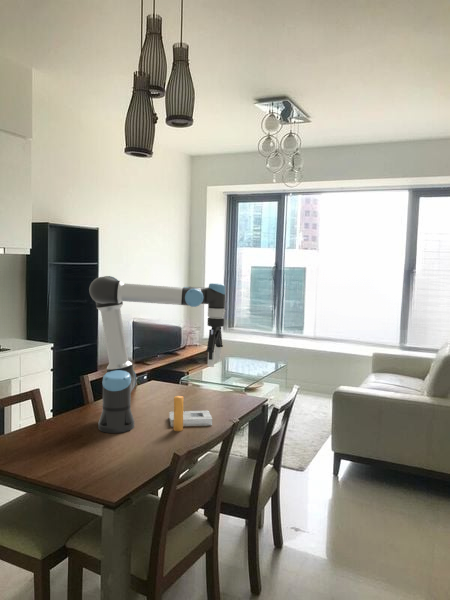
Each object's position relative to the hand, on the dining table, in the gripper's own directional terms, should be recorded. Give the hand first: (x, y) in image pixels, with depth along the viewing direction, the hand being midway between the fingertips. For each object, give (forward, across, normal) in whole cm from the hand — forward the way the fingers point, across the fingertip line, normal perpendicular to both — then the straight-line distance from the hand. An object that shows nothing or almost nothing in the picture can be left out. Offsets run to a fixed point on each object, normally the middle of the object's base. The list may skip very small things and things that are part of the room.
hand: (214, 363), depth 218 cm
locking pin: (+25, -20, +10) cm, 34 cm away
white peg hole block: (+25, -8, +8) cm, 28 cm away
